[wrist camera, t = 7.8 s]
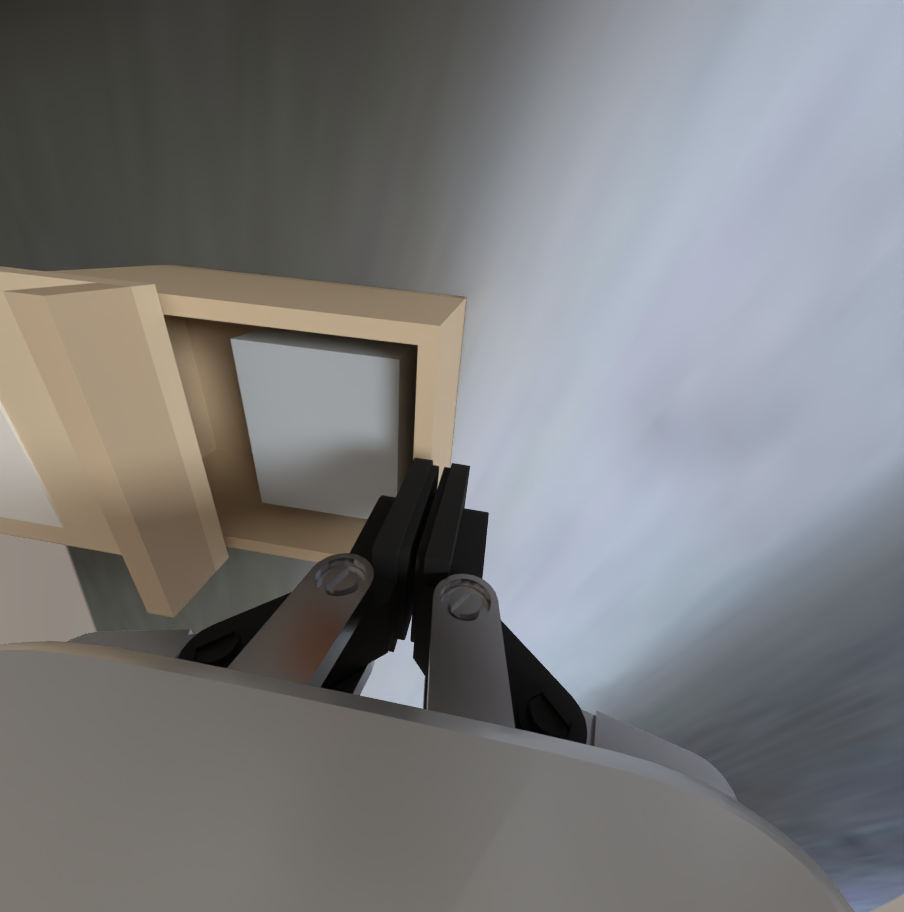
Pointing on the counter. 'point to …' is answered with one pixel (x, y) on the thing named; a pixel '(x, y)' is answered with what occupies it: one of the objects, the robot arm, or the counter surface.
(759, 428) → the counter surface
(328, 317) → the mailer box
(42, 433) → the lid
